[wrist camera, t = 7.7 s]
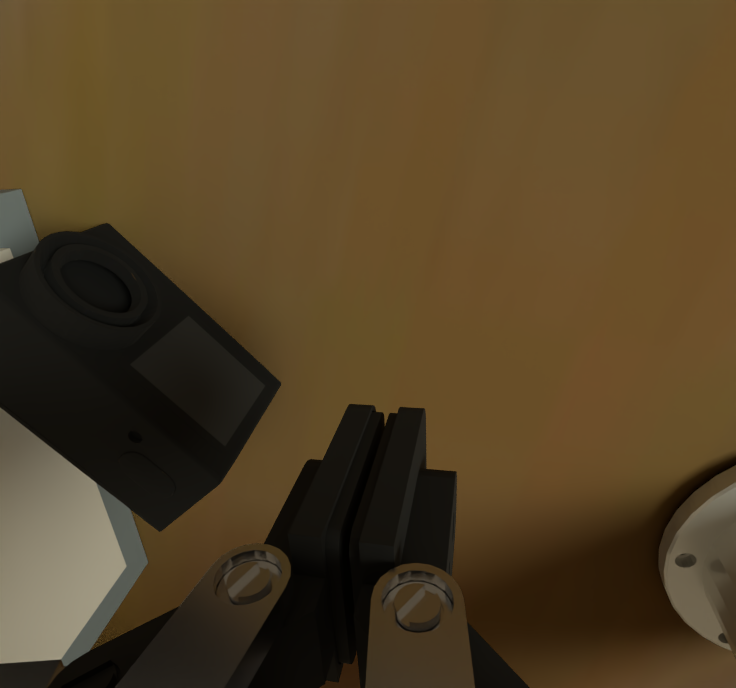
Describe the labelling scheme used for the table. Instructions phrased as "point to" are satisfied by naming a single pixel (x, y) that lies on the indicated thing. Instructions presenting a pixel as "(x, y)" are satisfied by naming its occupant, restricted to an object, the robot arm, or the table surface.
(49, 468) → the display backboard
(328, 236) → the table surface
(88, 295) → the digital camera
